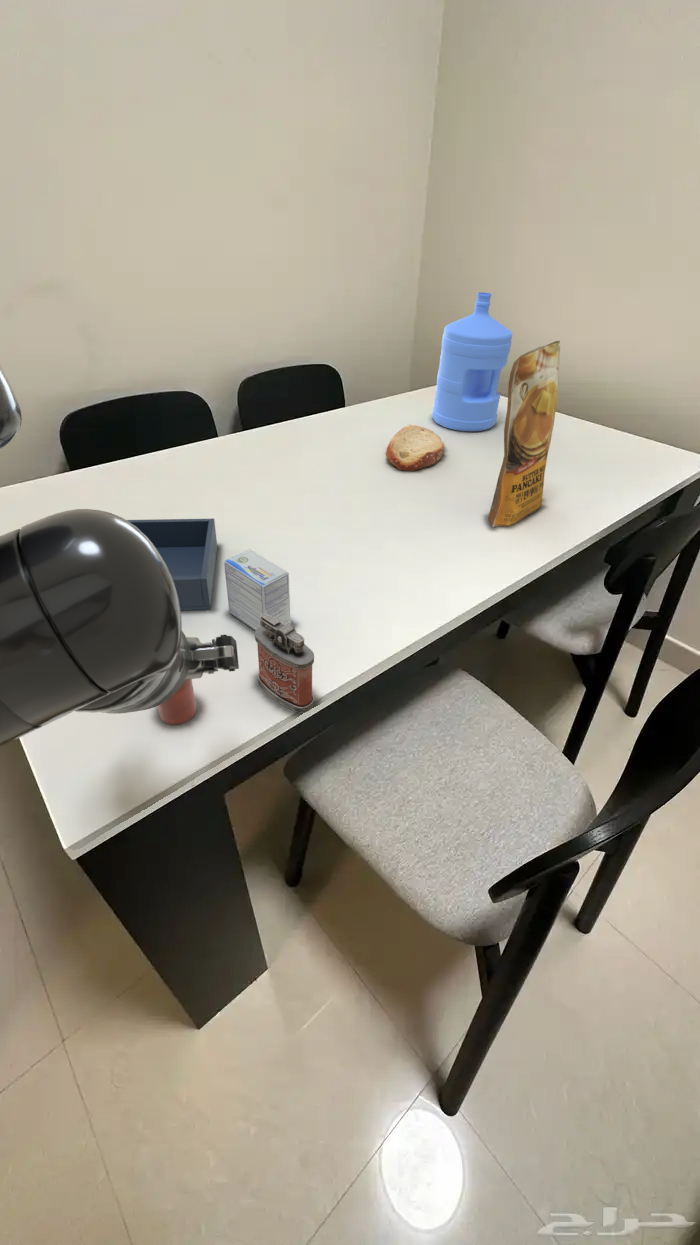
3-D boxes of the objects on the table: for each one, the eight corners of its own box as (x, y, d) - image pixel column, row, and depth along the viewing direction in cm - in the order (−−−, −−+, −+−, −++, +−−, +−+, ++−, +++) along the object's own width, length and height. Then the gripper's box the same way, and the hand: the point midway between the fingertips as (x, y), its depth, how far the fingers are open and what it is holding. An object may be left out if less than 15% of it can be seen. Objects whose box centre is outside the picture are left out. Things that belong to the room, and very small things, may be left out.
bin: (83, 613, 78) (74, 582, 74) (109, 549, 90) (101, 520, 87) (210, 609, 80) (206, 578, 76) (217, 546, 93) (214, 518, 89)
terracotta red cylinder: (157, 725, 63) (142, 664, 57) (162, 699, 66) (148, 638, 61) (195, 723, 64) (184, 662, 58) (198, 697, 67) (188, 637, 61)
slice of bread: (419, 431, 137) (421, 415, 135) (469, 459, 125) (472, 442, 123) (355, 443, 129) (356, 427, 127) (402, 474, 118) (404, 456, 115)
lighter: (320, 702, 67) (321, 635, 61) (299, 718, 65) (298, 650, 59) (272, 668, 71) (269, 603, 65) (251, 682, 69) (246, 616, 63)
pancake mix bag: (466, 521, 103) (498, 352, 86) (521, 490, 114) (559, 335, 97) (499, 535, 100) (539, 362, 82) (552, 502, 111) (597, 343, 93)
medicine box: (291, 625, 78) (290, 571, 72) (266, 640, 75) (263, 585, 70) (253, 600, 82) (250, 547, 76) (228, 613, 79) (222, 559, 74)
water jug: (419, 420, 143) (434, 291, 126) (453, 406, 153) (472, 285, 135) (474, 438, 136) (498, 303, 118) (506, 422, 145) (533, 295, 128)
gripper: (230, 589, 40) (234, 619, 56) (3, 608, 37) (76, 633, 53) (240, 699, 39) (242, 697, 55) (10, 726, 36) (82, 716, 52)
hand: (160, 666), depth 54 cm, fingers open, 8 cm apart
